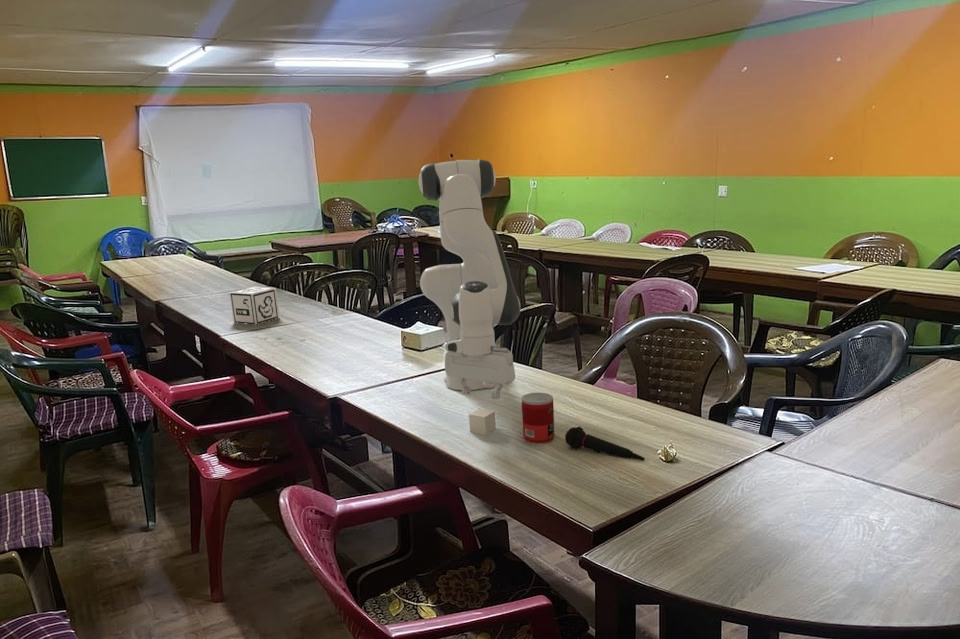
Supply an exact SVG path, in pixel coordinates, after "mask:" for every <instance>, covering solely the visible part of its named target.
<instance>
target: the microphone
mask: <svg viewBox="0 0 960 639" xmlns="http://www.w3.org/2000/svg"><path fill="white" fill-rule="evenodd" d="M564 439H565V443H566V444H567V445H568V446H570V448H571V449H573V450H578V449H581V448H582V447H583V448H584V449H587V450H591V451H592V452H594V453H598V454H601V453H603V454H606V455H610V456H614V457H619V458H624V459H629V460H630V459H634V460H637V461H638V460H640V461H645V457H644V456H641V455H639V454H637V453H635V452H634V451H633V450H630V449H629V448H626V447H624V446H622V445H618V444H615V443H612V442H611V441H607V440H605V439H602V438H599V437H596V436H593V435H592V434H589V433H588V434H587V433H586V431H585V430H584V428H582V427H580V426H577V427H570V429H568V430H567V431H566V433H565V436H564Z"/></svg>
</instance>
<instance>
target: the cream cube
mask: <svg viewBox="0 0 960 639" xmlns="http://www.w3.org/2000/svg"><path fill="white" fill-rule="evenodd" d="M468 420H469V422H468V423H469V432H470V433H475V434H479V435H484V436H486V435H488V434H490V433H491V432H493V431H494V430H496V429H497V424H496V423H497V422H496V411H495V410H492V409H486V408H477V409H476V410H474V411H471V412H470V413H469V414H468Z"/></svg>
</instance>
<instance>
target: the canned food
mask: <svg viewBox="0 0 960 639" xmlns="http://www.w3.org/2000/svg"><path fill="white" fill-rule="evenodd" d="M554 414H555V410H554V397H553V395H552V394H549V393H546V392H530V393H527V394H524V395H522V397H521V416H522V418H521V419H522V433H523V434H522V435H523V438H524V440H525V441H526V442H528V443H532V444H545V443H549V442H551V441H553V440H554V438H555V415H554Z"/></svg>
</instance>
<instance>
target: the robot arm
mask: <svg viewBox="0 0 960 639" xmlns="http://www.w3.org/2000/svg"><path fill="white" fill-rule="evenodd" d="M496 179H497V178H496V172H495V169H494V167H493V164H492V163H491V162H490V161H489V160H487V159H486V160H485V159H477V160H475V159H474V160H473V159H456V160H452V161H443V162H438V163H434V162H431V163H428V164H425V165H423V166H422V168H421V169H420V172H419V175H418V186H419V191H420V192H421V194H422V197H424V199H426V200H429V201H433V202H437V201H439V202H438V203H439V207H438V208H439V209H438V210H439V211H438V214H439V228H440V229H439V232H440V242H441V245H442V247H443V249H444V250H446V251H447V252H450V253H452V254H455V255H456V256H458V257H460V258H461V259H462V262H461V263H451V264H449V263H448V264H438V265H434V266H430V267H427V268H425V269H424V270H423V271H422V273H421V276H420V280H419V286H420V289H421V292H422V294H423V295H424V296H425V297H426V298H427V299H429V300H430V301H431V302H432V303H434V304H435V305H436V306H437V307H438V308H439V310H440V311H441V312H442V314H443V318H444V321H445V323H446V324H445V325H446V330H447V339H448V340H447V342H446V343H445V345H444V349H445V351H446V352H445V355H444V370H445V376H444V377H443V378H444V379H443V380H444V382H445V386H446V387H447V388H449V389H450V390H454V391H455V390H456V391H461V393H462V394H463V395H470V394H471V391H474V390H475V391H476V390H480V389H481V390H482V389H492V388H494V387H495V389H494V391H492V392H491V399H494V400H499V399H500V397H501V391H502V388H503V387H504V385H506V386H507V385H509V384H511V383H514V381H515V380H516V371H515V365H514V356H513V352H511V350H509V349H508V348H507V347H499V346H496V343H495V342H496V340H495V329H494V327H493V326H495V325H497V326H510V325H511V324H512V323H514V322H515V321H516V320H517V319H518V318H519V316H520V315H521V302H520V298H519V296H518V294H517V291H516V288H515V285H514V283H513V279H512V276H511V271H510V269H509V265H508V262H507V258H506V255H505V252H504V251H505V250H504V249H503V246H502V242H501V239H500V237H499V235H498V232H497V231H496V230H493V229H491V227H490V226H489V225H488V224H487V222H486V220H485V216H484V211H483V210H484V209H483V202H482V199H483V198H484V197H487V196H489V195H491V193H492V192H493V191H494V188H495V186H496Z"/></svg>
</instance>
